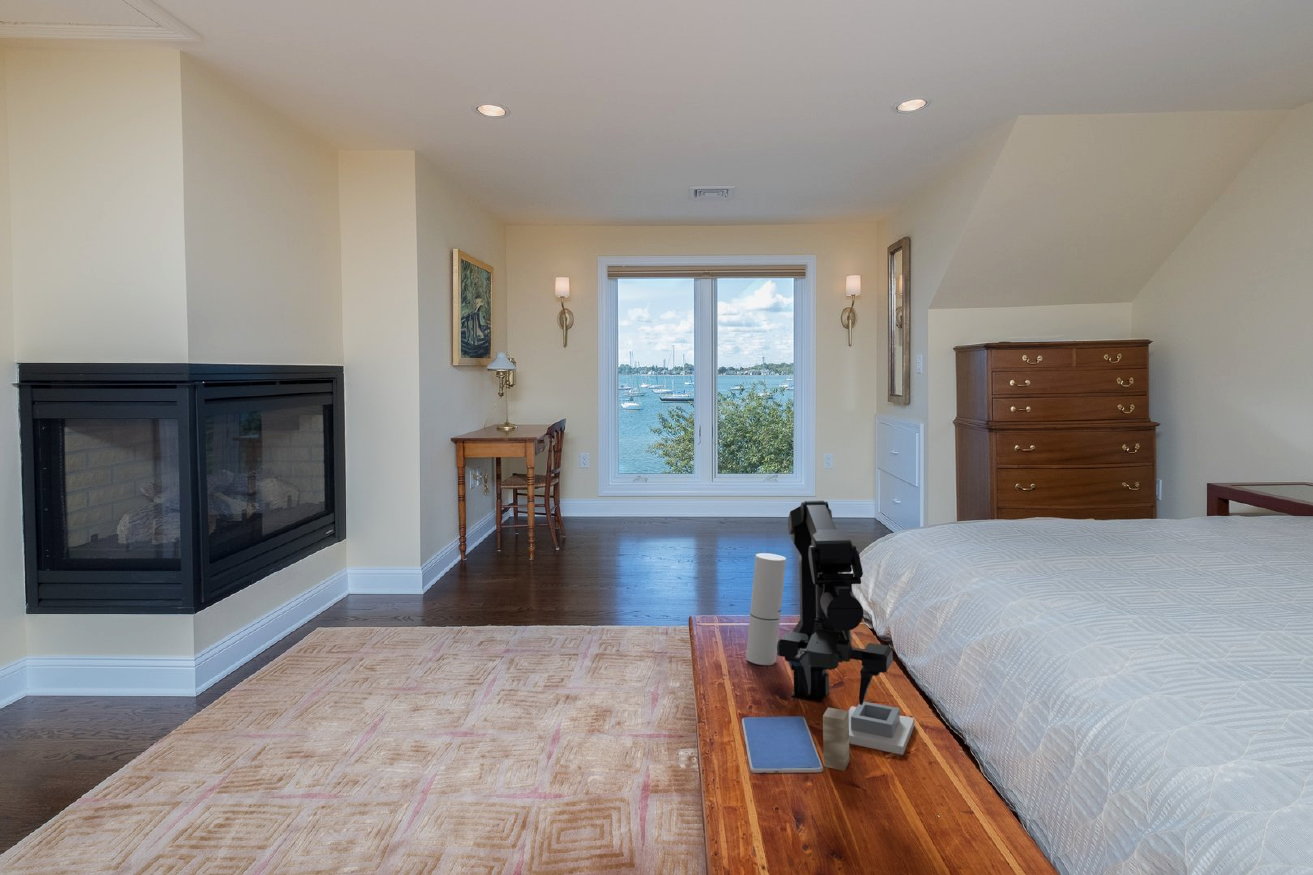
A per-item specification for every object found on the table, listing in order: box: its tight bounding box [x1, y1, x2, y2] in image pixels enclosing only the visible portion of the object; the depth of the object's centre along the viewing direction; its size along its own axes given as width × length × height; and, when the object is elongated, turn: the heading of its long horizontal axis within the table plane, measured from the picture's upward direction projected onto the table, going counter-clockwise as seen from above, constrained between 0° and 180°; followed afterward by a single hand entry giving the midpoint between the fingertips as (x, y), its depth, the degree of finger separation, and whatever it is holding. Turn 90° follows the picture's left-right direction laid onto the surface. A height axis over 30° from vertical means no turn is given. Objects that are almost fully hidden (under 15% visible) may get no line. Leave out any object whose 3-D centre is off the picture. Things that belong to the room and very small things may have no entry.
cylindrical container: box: [745, 552, 787, 666], centre depth 170 cm, size 7×7×25 cm
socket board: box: [848, 701, 916, 756], centre depth 135 cm, size 12×12×4 cm
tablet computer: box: [741, 716, 824, 774], centre depth 132 cm, size 19×13×1 cm, turn 178°
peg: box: [822, 707, 850, 772], centre depth 124 cm, size 4×4×9 cm
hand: (834, 698), depth 124 cm, fingers open, 9 cm apart
